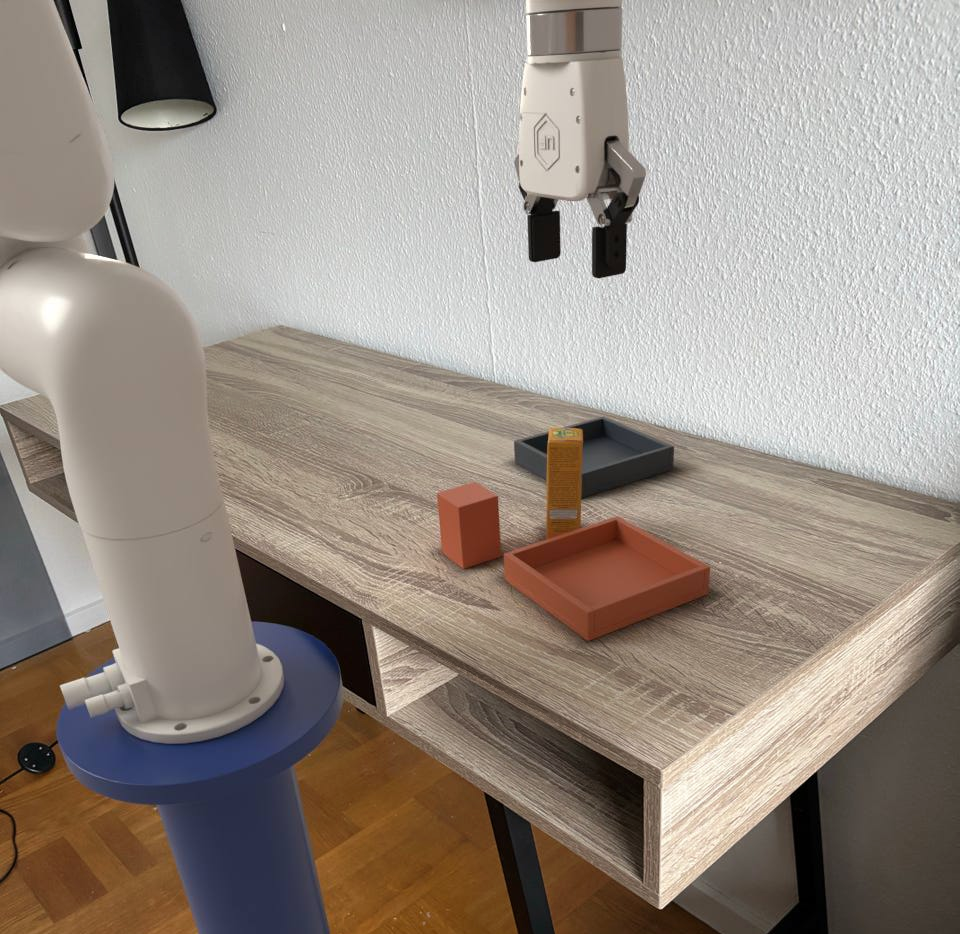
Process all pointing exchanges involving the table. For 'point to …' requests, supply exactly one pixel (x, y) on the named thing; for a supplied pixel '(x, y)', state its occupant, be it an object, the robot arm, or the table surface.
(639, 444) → the slate tray
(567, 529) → the supplement box
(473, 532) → the terracotta block
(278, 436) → the table surface
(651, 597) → the terracotta tray
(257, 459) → the table surface
